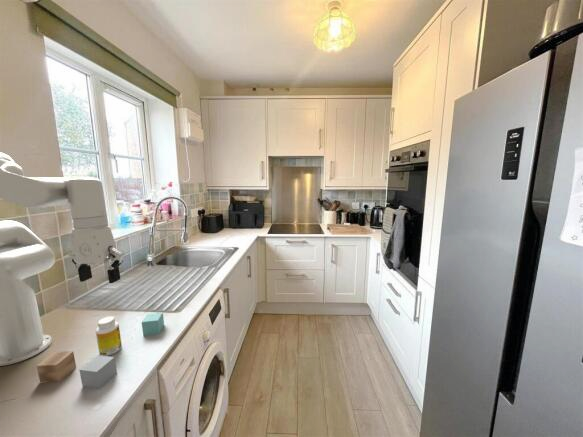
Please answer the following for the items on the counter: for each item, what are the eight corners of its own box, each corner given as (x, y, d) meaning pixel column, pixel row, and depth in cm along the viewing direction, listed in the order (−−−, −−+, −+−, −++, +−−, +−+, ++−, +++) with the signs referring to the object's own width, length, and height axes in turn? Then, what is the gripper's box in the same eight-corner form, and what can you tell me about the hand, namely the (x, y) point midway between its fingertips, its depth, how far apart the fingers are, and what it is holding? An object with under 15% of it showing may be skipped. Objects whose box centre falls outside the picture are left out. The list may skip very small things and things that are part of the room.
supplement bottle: (124, 350, 74) (119, 319, 72) (101, 360, 70) (96, 328, 68) (119, 341, 78) (115, 312, 76) (97, 350, 74) (92, 320, 72)
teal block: (143, 335, 81) (141, 322, 80) (149, 326, 85) (147, 313, 85) (159, 333, 82) (157, 320, 81) (164, 325, 86) (162, 312, 86)
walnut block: (40, 382, 62) (36, 365, 62) (58, 367, 67) (55, 351, 67) (59, 382, 63) (56, 365, 62) (76, 367, 67) (73, 351, 67)
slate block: (82, 387, 61) (79, 369, 60) (101, 371, 66) (98, 355, 65) (99, 389, 60) (96, 371, 59) (116, 373, 65) (114, 357, 64)
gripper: (50, 225, 65) (61, 284, 68) (105, 225, 62) (115, 287, 65) (78, 220, 72) (87, 274, 75) (129, 220, 69) (136, 276, 72)
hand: (100, 280), depth 70 cm, fingers open, 9 cm apart
